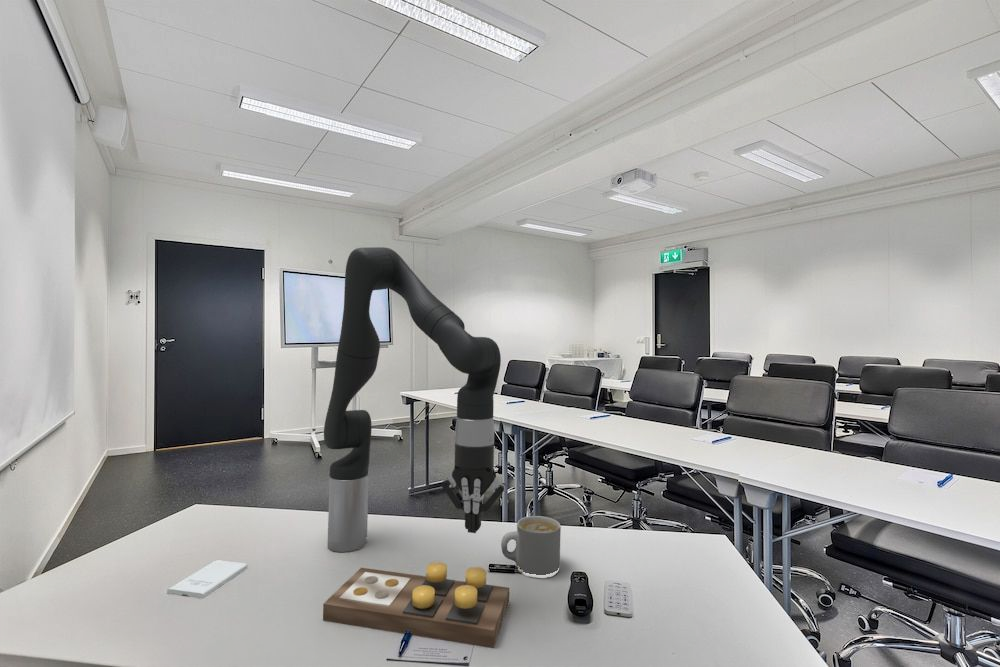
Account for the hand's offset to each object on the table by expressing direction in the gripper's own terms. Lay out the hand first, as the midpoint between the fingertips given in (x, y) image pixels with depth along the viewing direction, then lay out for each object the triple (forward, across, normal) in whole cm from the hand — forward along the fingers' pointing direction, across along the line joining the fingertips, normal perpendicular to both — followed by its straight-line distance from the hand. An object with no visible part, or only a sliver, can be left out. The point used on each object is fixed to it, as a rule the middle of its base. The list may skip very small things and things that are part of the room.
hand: (472, 531), depth 91 cm
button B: (+11, +7, +6) cm, 15 cm away
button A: (+10, +8, -1) cm, 13 cm away
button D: (+10, -1, +6) cm, 12 cm away
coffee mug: (+16, -8, -20) cm, 27 cm away
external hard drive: (+16, +56, +4) cm, 58 cm away
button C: (+10, 0, -1) cm, 10 cm away
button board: (+15, +9, +3) cm, 18 cm away
